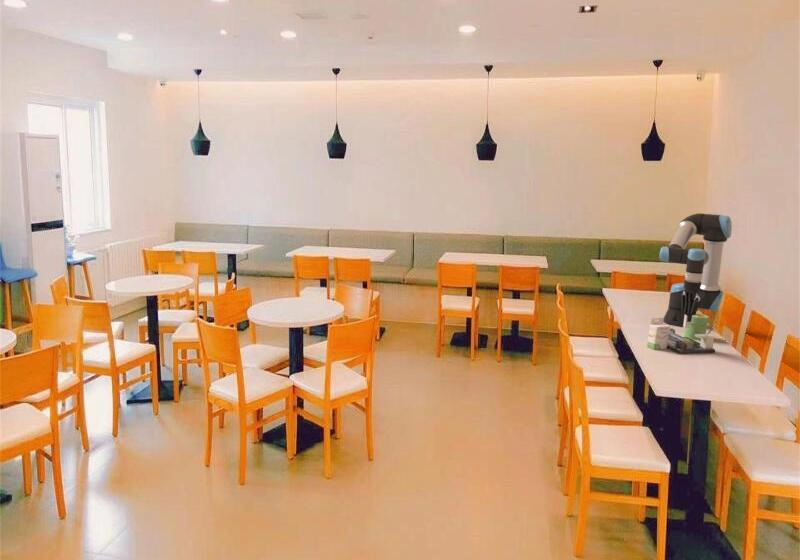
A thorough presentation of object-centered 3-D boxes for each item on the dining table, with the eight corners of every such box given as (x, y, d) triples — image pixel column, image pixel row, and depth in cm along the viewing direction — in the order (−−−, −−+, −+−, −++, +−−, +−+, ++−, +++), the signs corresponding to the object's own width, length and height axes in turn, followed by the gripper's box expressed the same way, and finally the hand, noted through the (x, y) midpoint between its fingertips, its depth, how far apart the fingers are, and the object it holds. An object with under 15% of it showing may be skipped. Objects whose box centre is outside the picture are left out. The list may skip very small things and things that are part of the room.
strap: (669, 332, 321) (670, 330, 320) (693, 344, 303) (693, 342, 303) (665, 332, 320) (665, 331, 320) (688, 344, 302) (689, 342, 302)
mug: (684, 338, 328) (688, 316, 326) (683, 333, 338) (686, 312, 335) (711, 342, 324) (714, 319, 321) (709, 336, 333) (712, 315, 331)
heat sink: (679, 341, 317) (680, 336, 317) (689, 346, 309) (690, 340, 309) (665, 341, 315) (666, 336, 315) (675, 346, 308) (676, 341, 307)
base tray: (685, 339, 326) (687, 327, 325) (714, 353, 305) (716, 340, 304) (651, 340, 322) (653, 328, 320) (678, 353, 301) (680, 341, 299)
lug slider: (706, 346, 310) (708, 334, 309) (712, 348, 306) (714, 336, 305) (692, 346, 308) (694, 334, 307) (698, 348, 304) (700, 336, 303)
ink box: (654, 349, 306) (658, 320, 303) (646, 346, 310) (650, 318, 307) (667, 348, 309) (671, 319, 306) (659, 345, 313) (663, 317, 310)
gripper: (677, 277, 307) (671, 323, 312) (695, 283, 294) (688, 331, 300) (691, 277, 308) (684, 323, 314) (708, 283, 296) (701, 331, 301)
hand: (686, 327), depth 307 cm, fingers closed
